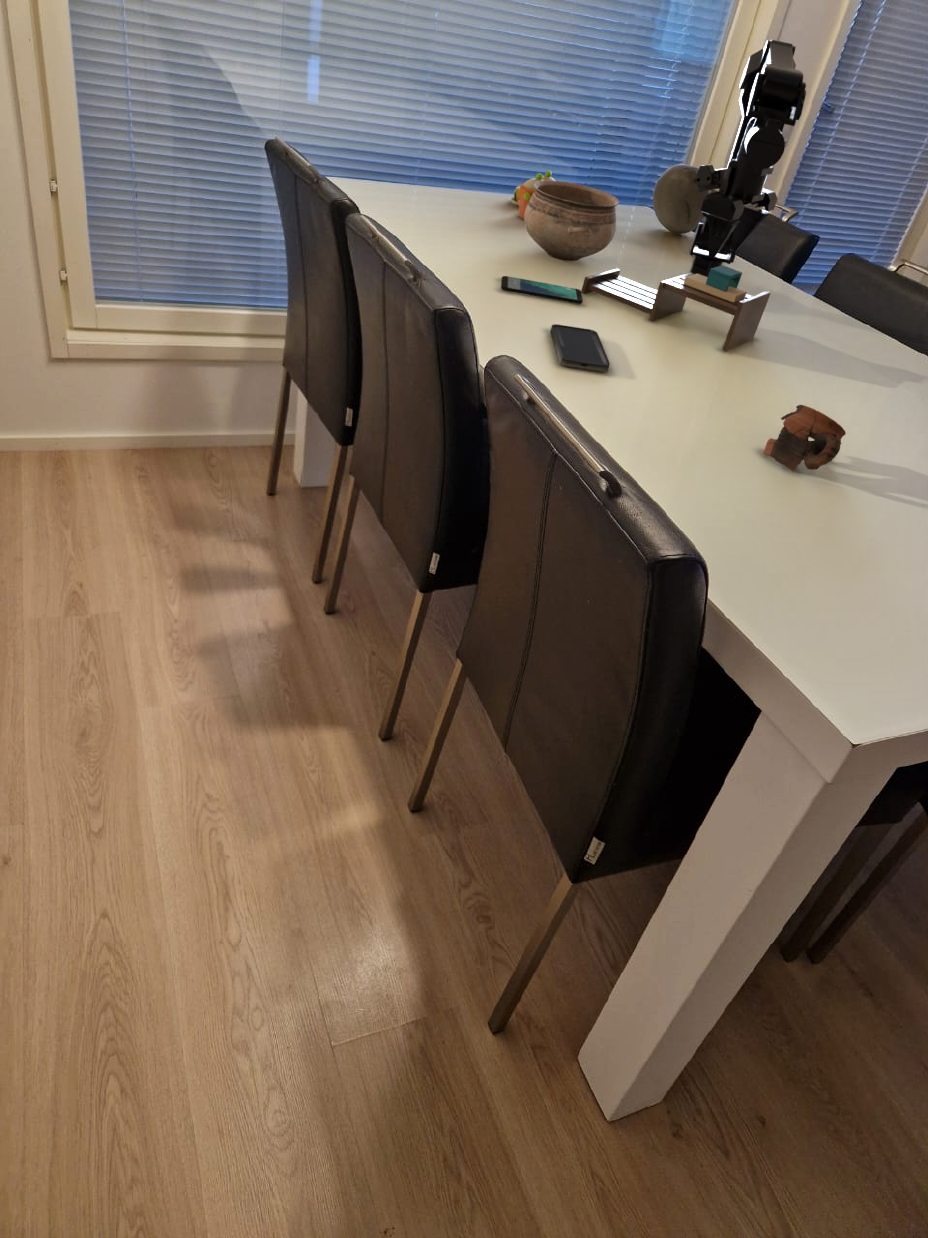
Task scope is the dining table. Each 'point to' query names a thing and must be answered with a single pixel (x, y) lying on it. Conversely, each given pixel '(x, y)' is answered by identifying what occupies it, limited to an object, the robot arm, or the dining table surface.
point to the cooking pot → (570, 219)
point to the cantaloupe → (678, 199)
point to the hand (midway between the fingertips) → (722, 253)
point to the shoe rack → (680, 302)
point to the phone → (579, 348)
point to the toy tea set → (527, 192)
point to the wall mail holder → (719, 283)
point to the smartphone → (541, 289)
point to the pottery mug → (806, 439)
